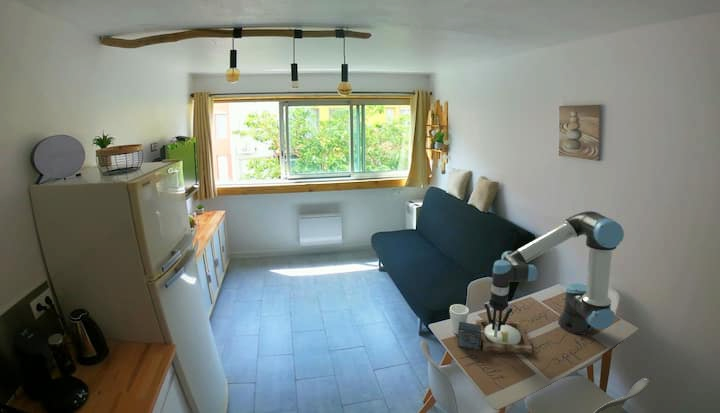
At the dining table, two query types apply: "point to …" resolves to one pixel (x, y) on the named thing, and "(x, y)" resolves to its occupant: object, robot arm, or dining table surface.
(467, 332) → the small box
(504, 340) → the dial
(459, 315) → the foam cup
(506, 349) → the housing
